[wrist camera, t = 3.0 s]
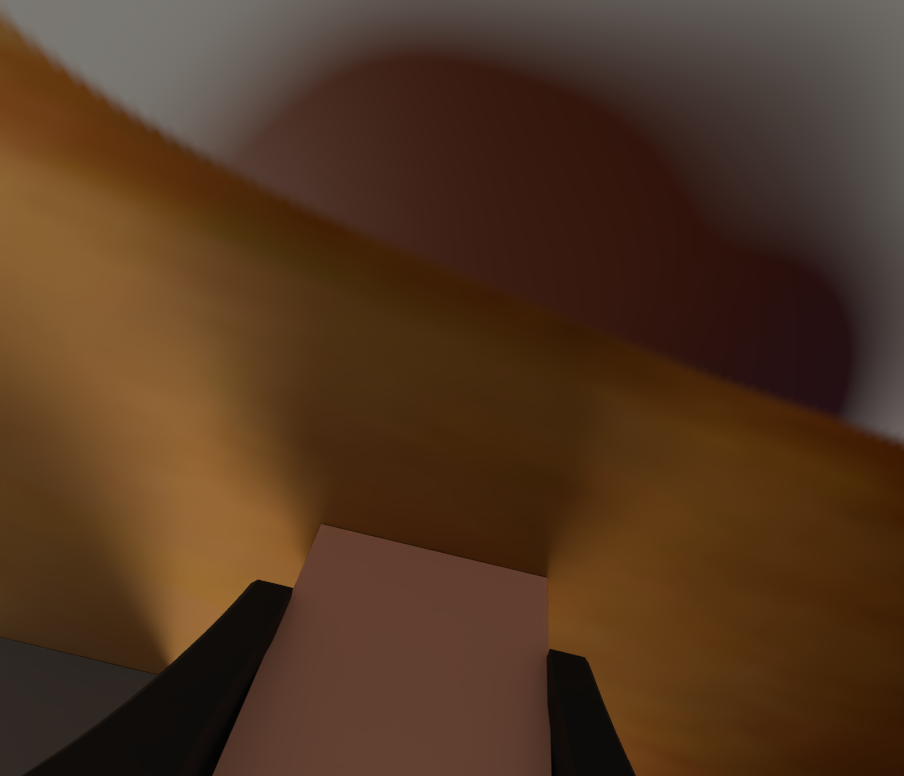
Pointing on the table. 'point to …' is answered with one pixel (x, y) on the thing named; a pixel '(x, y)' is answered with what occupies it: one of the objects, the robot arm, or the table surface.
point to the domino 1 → (54, 700)
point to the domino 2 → (399, 669)
